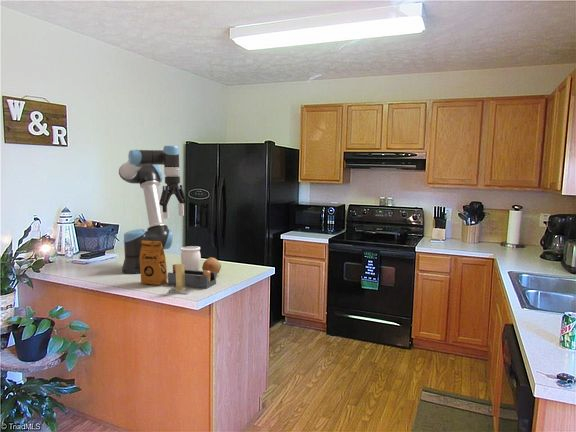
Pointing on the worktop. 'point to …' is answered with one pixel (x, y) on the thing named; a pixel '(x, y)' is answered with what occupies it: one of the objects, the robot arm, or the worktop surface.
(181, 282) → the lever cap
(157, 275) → the coffee package
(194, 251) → the jar
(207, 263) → the onion
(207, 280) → the dark grey tray
